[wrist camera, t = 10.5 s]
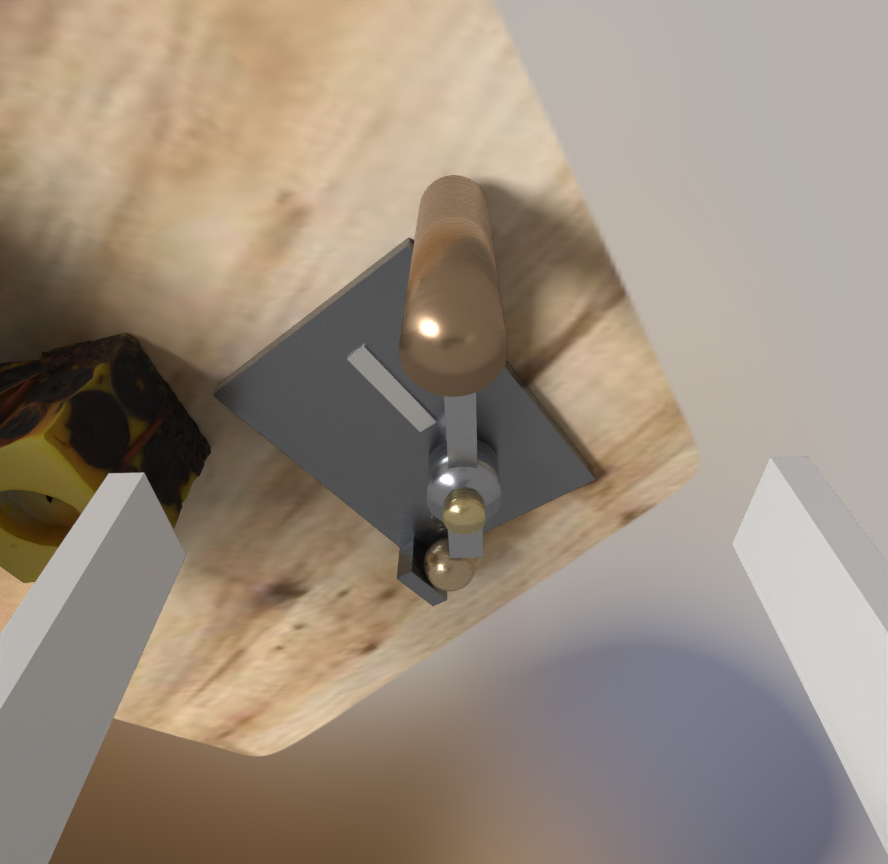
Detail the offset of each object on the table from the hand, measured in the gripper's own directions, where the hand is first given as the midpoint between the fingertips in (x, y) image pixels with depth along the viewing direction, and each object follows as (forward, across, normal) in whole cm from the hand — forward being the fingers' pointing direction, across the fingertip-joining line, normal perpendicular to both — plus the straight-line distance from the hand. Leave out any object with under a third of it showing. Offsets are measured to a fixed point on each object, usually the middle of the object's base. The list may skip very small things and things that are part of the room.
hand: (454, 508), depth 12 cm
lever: (+20, 0, -11) cm, 23 cm away
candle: (+22, -23, -13) cm, 35 cm away
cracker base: (+22, -2, -15) cm, 27 cm away
